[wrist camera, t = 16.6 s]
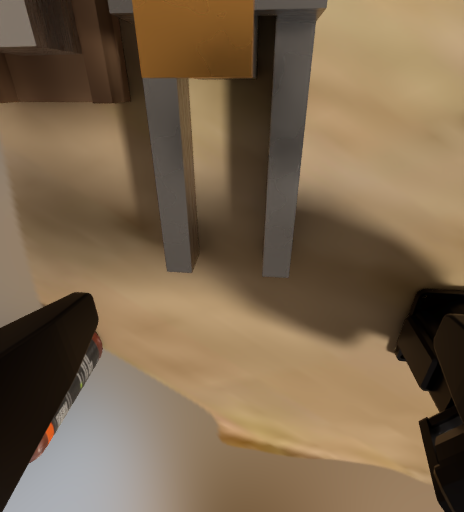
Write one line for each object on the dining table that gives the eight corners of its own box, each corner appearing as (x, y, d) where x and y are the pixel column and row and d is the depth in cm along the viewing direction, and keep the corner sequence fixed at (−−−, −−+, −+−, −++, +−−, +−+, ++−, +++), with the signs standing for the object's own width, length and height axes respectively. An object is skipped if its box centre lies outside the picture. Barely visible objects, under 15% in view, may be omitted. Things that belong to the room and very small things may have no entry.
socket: (318, -72, 13) (345, -151, 8) (286, 258, 21) (291, 303, 16) (143, -64, 13) (86, -134, 9) (176, 253, 21) (154, 295, 17)
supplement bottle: (24, 319, 26) (-122, 461, 16) (80, 304, 25) (-44, 450, 15) (65, 366, 29) (-41, 513, 19) (118, 355, 27) (33, 509, 17)
